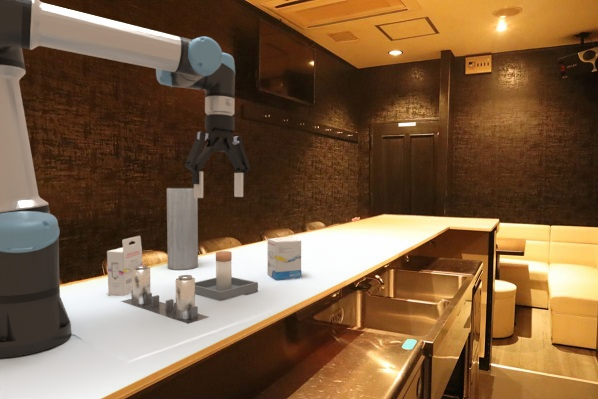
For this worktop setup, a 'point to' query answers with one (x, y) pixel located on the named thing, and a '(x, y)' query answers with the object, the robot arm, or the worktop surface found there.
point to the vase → (182, 228)
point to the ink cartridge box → (123, 266)
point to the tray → (238, 288)
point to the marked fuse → (223, 270)
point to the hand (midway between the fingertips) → (219, 197)
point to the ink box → (284, 258)
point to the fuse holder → (178, 311)
